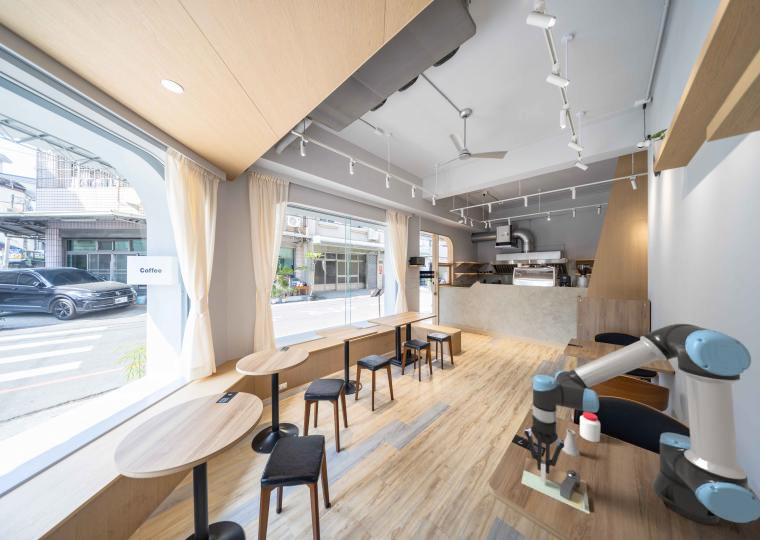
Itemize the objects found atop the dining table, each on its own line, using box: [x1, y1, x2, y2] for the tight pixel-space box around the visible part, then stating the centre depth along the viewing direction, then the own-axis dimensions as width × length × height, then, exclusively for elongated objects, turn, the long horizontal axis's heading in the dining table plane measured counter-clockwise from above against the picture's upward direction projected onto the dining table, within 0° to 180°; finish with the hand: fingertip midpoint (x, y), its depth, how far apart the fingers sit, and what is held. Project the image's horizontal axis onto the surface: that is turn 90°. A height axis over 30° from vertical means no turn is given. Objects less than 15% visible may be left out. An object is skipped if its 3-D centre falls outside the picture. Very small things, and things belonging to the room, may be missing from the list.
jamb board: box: [523, 457, 589, 497], centre depth 99 cm, size 20×8×1 cm, turn 54°
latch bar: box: [560, 469, 581, 501], centre depth 93 cm, size 12×4×4 cm, turn 129°
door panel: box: [521, 469, 591, 515], centre depth 93 cm, size 20×8×3 cm, turn 54°
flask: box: [561, 428, 581, 457], centre depth 113 cm, size 7×7×10 cm
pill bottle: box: [579, 411, 601, 443], centre depth 124 cm, size 8×8×11 cm
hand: (543, 479), depth 96 cm, fingers closed
